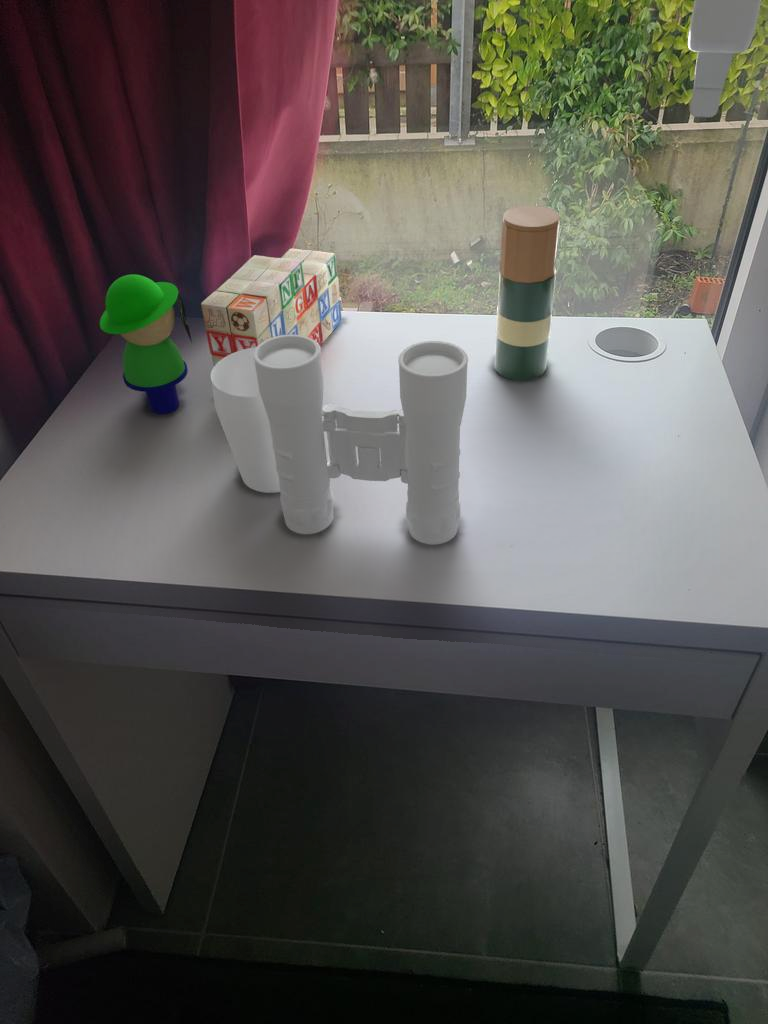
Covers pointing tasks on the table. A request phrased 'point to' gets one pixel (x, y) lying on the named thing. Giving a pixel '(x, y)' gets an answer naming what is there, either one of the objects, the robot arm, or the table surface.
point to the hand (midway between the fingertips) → (704, 95)
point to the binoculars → (366, 434)
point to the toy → (147, 337)
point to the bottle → (523, 328)
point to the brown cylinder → (529, 244)
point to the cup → (245, 420)
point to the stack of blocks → (274, 302)
